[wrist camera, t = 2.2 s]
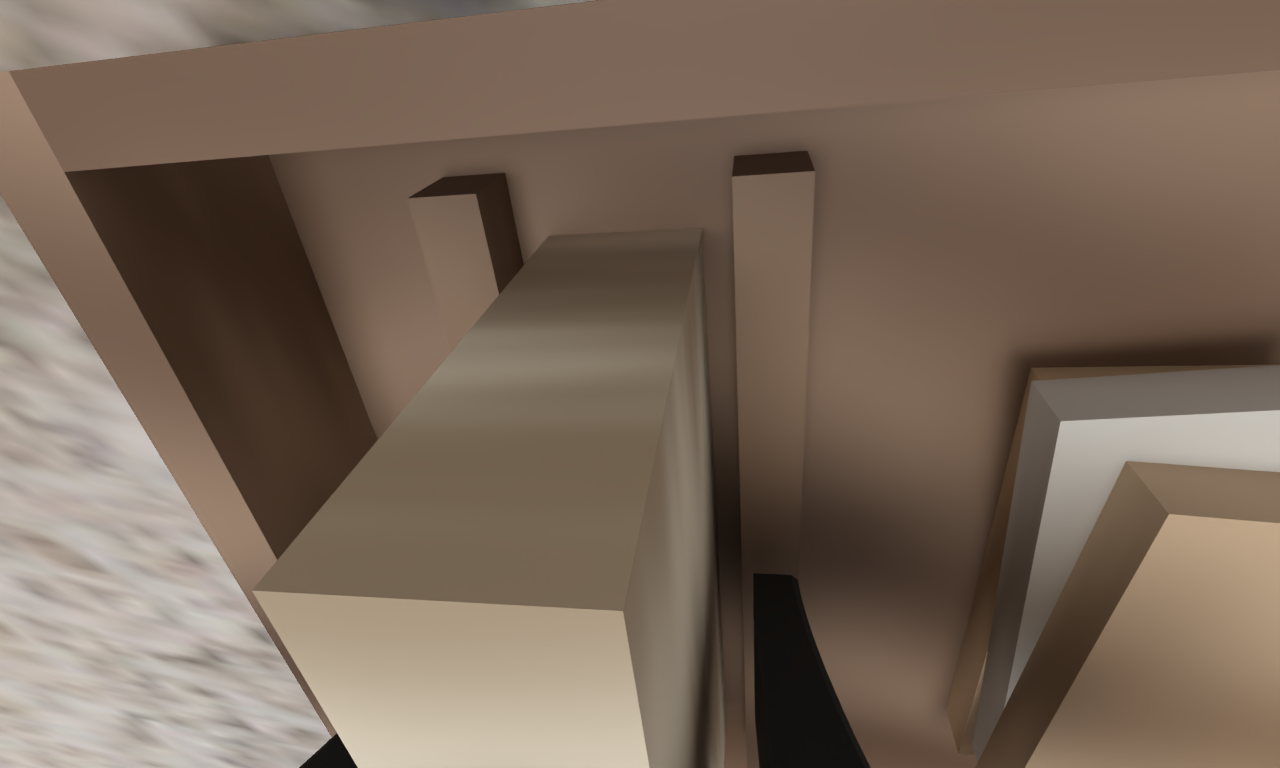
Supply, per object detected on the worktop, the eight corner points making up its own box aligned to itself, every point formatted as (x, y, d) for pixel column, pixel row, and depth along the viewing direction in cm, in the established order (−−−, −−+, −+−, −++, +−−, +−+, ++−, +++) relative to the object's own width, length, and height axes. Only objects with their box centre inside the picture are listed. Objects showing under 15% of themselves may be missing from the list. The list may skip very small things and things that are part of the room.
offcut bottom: (1122, 723, 14) (1147, 770, 13) (946, 709, 14) (958, 753, 14) (1301, 364, 9) (1356, 401, 8) (1030, 367, 10) (1056, 402, 9)
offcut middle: (1168, 753, 13) (1198, 808, 12) (972, 744, 13) (987, 794, 13) (1340, 361, 8) (1408, 403, 7) (1031, 381, 9) (1061, 420, 8)
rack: (1078, 814, 17) (1158, 1014, 14) (488, 755, 20) (436, 907, 17) (1536, -107, 7) (2274, -203, 4) (207, 51, 10) (-70, 80, 7)
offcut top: (1148, 836, 12) (1177, 897, 12) (955, 808, 13) (969, 864, 12) (1446, 484, 8) (1531, 544, 7) (1125, 460, 8) (1169, 514, 7)
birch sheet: (726, 705, 16) (711, 1137, 10) (630, 697, 16) (560, 1107, 10) (702, 227, 9) (622, 609, 4) (548, 235, 10) (252, 590, 4)
